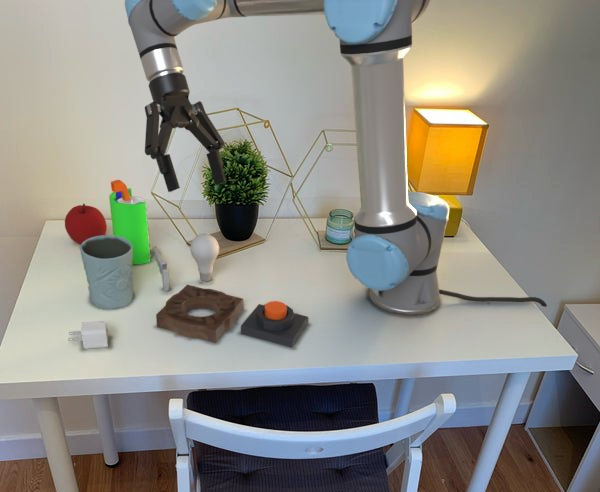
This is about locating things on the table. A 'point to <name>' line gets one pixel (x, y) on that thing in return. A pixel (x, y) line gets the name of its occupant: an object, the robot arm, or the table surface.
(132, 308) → the table surface
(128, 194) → the green-shelled ribbed roller
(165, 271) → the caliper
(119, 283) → the grey embossed cup
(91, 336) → the usb wall charger
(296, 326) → the black button base
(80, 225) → the apple
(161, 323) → the bulb stand
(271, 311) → the test button
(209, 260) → the lightbulb
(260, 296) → the table surface
